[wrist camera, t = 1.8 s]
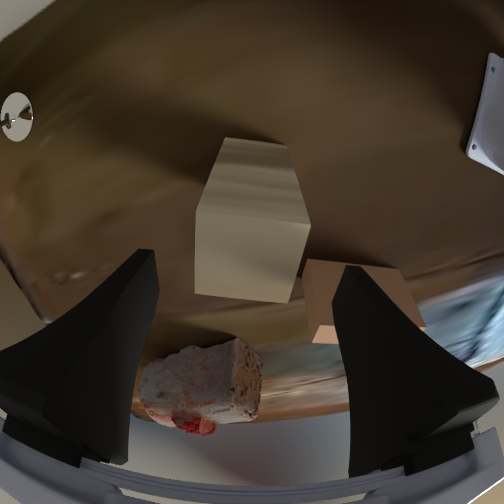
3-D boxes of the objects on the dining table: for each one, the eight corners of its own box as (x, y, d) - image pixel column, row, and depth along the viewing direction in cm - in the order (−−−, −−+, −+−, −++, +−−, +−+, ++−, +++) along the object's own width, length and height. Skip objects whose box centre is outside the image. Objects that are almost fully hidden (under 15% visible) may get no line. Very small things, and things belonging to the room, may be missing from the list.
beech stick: (225, 137, 18) (196, 210, 10) (286, 145, 18) (310, 225, 10) (220, 191, 20) (194, 293, 12) (276, 198, 20) (287, 303, 12)
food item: (181, 381, 38) (171, 443, 30) (142, 352, 33) (124, 421, 25) (267, 361, 33) (268, 436, 25) (232, 325, 29) (225, 414, 21)
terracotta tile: (307, 258, 24) (320, 325, 18) (398, 268, 24) (426, 327, 19) (300, 278, 25) (310, 344, 19) (388, 286, 26) (412, 344, 20)
